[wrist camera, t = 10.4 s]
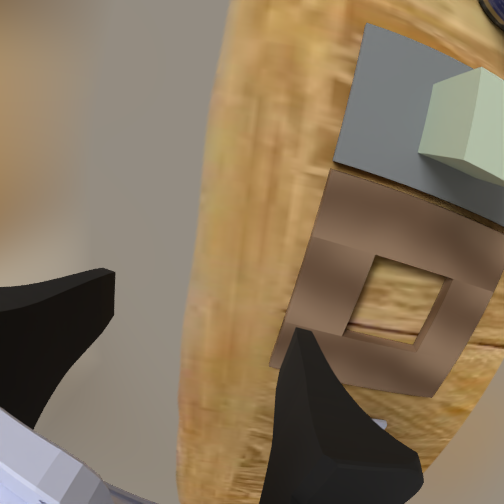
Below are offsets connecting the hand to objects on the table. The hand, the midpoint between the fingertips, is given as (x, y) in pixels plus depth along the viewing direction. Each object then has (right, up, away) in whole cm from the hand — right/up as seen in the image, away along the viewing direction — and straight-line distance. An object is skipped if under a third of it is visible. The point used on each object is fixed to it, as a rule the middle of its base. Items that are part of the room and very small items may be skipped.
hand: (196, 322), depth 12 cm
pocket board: (+12, -1, +9) cm, 15 cm away
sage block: (+14, +10, +4) cm, 18 cm away
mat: (+14, +10, +4) cm, 18 cm away
